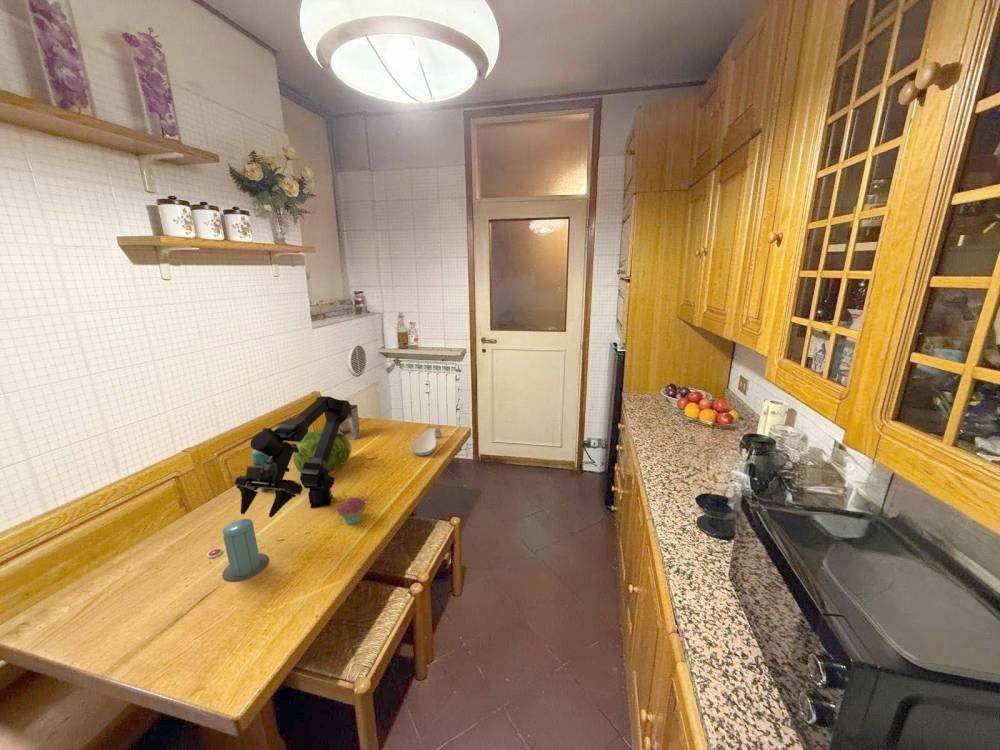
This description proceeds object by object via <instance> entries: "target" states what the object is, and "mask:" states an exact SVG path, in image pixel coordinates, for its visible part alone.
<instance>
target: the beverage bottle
mask: <svg viewBox="0 0 1000 750" xmlns="http://www.w3.org/2000/svg"><path fill="white" fill-rule="evenodd" d="M251 457H252V464H253V465H252V466H261V465H262V463H263V462H267V461H268V459H269V457H268V456H265V455H264V454H262V453H260V452H258V451H256V450H254V449H252V451H251ZM257 480H259V479H257ZM264 485H266V484H264ZM272 485H273V484H272ZM273 486H274V485H273ZM260 489H263V490H264V489H265V490H267V488H259V490H260Z"/></svg>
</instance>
